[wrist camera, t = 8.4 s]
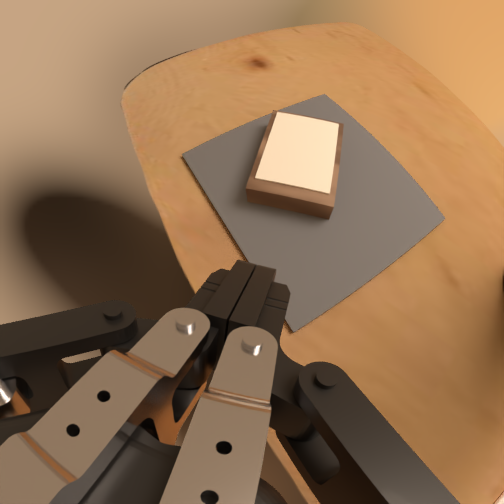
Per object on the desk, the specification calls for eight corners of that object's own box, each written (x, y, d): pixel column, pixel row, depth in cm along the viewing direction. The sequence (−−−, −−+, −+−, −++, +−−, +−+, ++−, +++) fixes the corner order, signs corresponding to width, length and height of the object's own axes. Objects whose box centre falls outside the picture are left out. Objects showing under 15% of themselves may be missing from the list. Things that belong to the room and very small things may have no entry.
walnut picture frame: (247, 201, 34) (273, 124, 38) (328, 219, 32) (340, 138, 37) (245, 187, 31) (273, 109, 35) (334, 206, 29) (344, 122, 34)
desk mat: (324, 96, 41) (324, 94, 41) (443, 219, 32) (445, 218, 31) (182, 156, 38) (181, 154, 37) (293, 332, 28) (293, 332, 28)
